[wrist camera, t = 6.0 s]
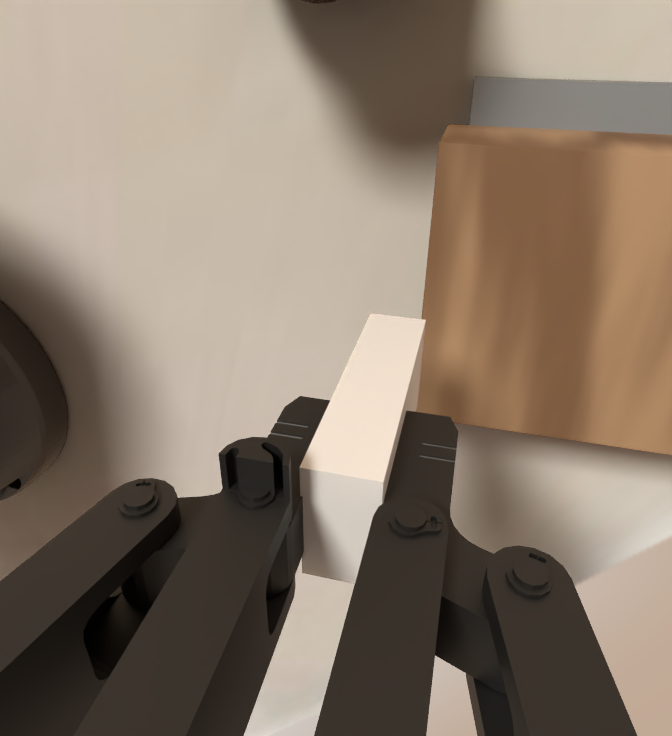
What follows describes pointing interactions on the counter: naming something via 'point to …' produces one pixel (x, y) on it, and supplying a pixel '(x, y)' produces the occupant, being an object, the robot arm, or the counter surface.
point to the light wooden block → (551, 285)
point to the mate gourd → (319, 1)
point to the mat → (573, 105)
